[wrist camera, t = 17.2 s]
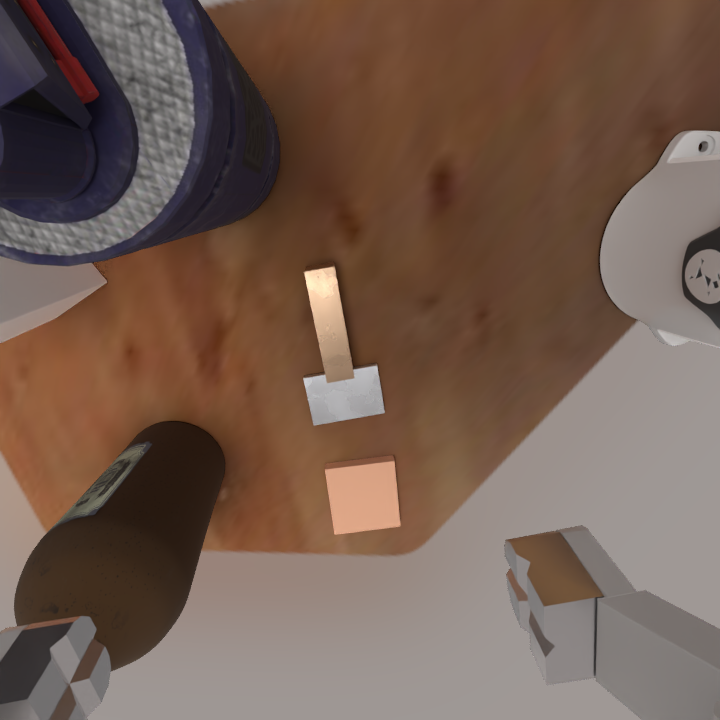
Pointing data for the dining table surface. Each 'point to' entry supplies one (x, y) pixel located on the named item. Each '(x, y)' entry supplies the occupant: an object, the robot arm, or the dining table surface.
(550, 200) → the dining table surface
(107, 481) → the olive oil
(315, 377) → the turner
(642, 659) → the robot arm
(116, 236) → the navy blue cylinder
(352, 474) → the tile
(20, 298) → the milk
